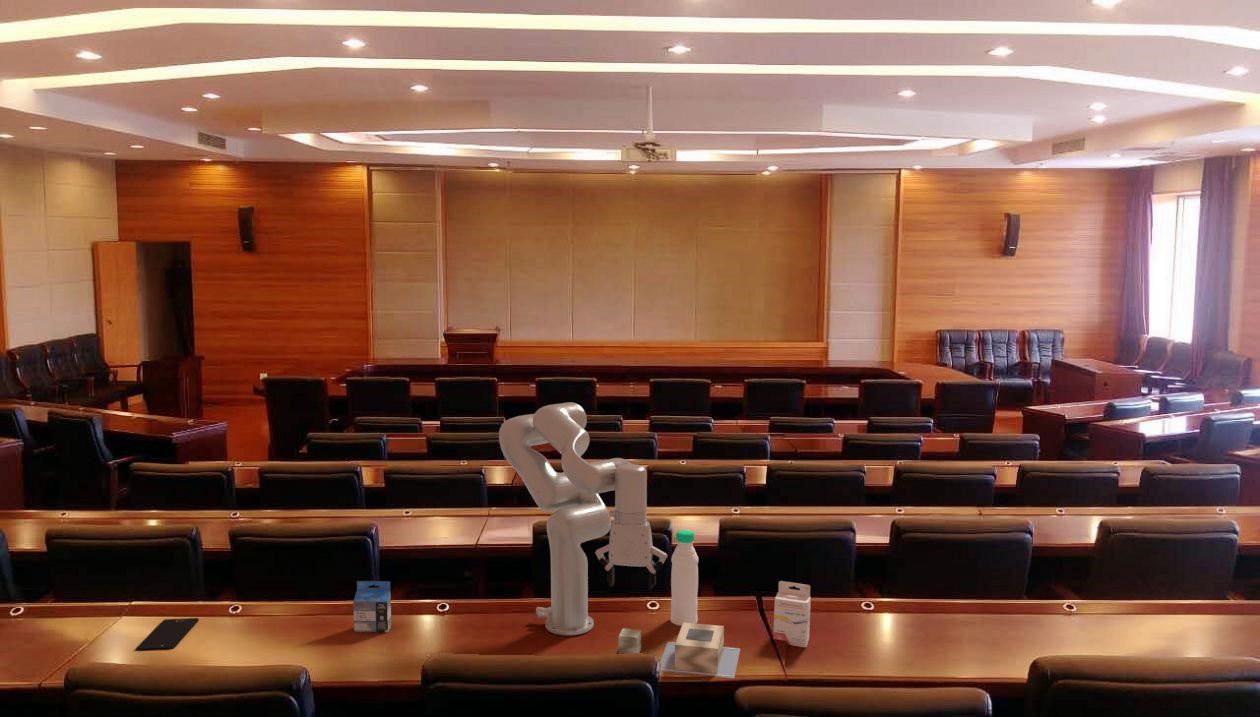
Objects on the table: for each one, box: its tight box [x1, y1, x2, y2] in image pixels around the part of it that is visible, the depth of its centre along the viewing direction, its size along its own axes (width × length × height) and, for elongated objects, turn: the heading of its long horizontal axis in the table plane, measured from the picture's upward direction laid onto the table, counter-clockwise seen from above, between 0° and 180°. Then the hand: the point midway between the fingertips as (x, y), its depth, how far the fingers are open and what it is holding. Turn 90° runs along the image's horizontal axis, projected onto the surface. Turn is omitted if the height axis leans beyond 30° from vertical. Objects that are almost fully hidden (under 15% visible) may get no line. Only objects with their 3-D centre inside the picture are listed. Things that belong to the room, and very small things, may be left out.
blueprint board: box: [659, 641, 741, 679], centre depth 221 cm, size 18×16×1 cm
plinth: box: [675, 622, 725, 673], centre depth 221 cm, size 10×13×6 cm
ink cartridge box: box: [772, 580, 812, 648], centre depth 233 cm, size 9×5×15 cm, turn 71°
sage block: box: [618, 628, 642, 655], centre depth 224 cm, size 5×5×6 cm
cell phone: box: [135, 617, 199, 652], centre depth 236 cm, size 9×18×1 cm, turn 6°
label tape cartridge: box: [352, 580, 392, 633], centre depth 239 cm, size 9×4×12 cm, turn 90°
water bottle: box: [670, 529, 699, 627], centre depth 242 cm, size 7×7×25 cm
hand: (631, 586), depth 222 cm, fingers open, 9 cm apart
